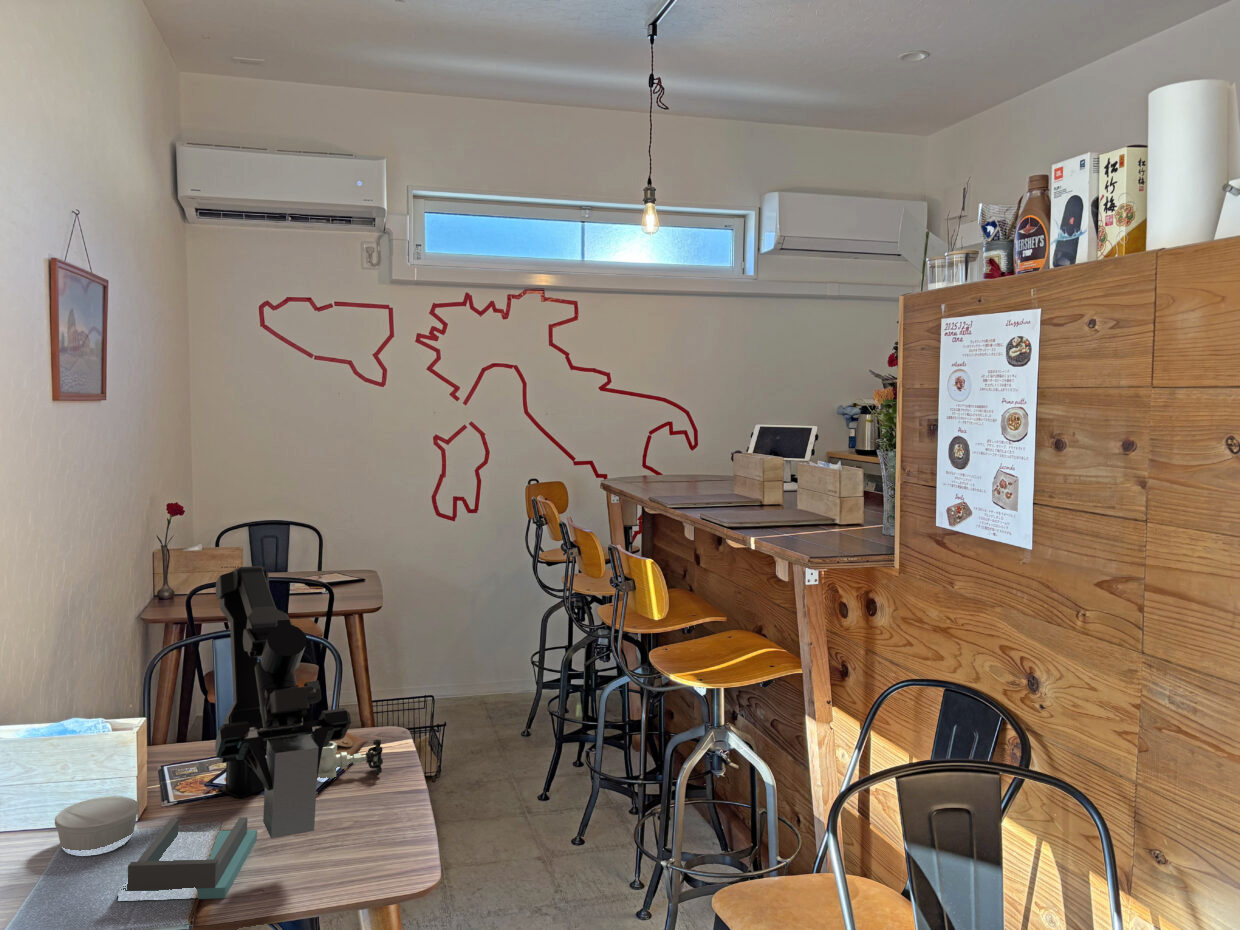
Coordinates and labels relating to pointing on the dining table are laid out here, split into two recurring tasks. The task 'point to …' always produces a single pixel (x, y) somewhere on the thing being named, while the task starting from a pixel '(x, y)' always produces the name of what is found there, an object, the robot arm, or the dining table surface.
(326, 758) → the valve
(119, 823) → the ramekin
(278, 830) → the lock block
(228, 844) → the dock plate
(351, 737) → the sunglasses case
